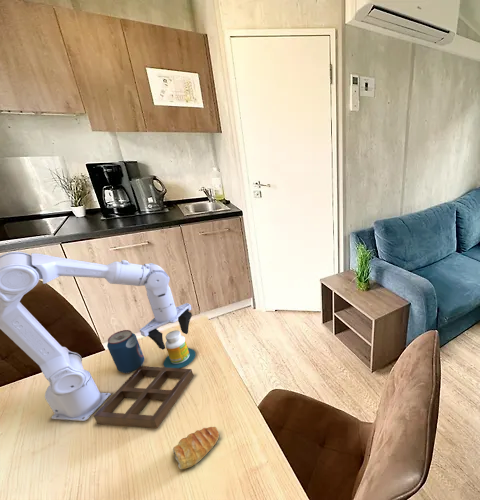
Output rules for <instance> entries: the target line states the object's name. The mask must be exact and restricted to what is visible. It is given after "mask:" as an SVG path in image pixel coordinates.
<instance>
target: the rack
mask: <svg viewBox="0 0 480 500" xmlns="http://www.w3.org/2000/svg"><path fill="white" fill-rule="evenodd" d="M144 377H145V378H154V379H153V380H151V382H150V383H149V385H148V386H147V387H145V388H144V387H137V385H139V383H140V382H141V381H142V379H144ZM168 379H178V381H177V382H176V384H175V385H174V387H173V388H172V389H160V388H161V387H162V386H163V385H164V383H166V381H167V380H168ZM192 379H194V373H193V370H192V368H184V367H183V368H166V367H164V366H147V365H142V366H140V367H139V368H138V369H137V370H136V371H134V372H132V374H131V375H130V376H129V377H128V378H127V379H126V380H125V382H123V384H121V386H119V388H117V390H116V391H115V392H114V393H113V394H111V396H110V397H109V398H108V399H107V400H106V401H105V402H104V403H103V404H102V405H101V406H100V407H99V408H98V409H97V410H96V411H95V412H94V413H93V416H92V417H93V418H94V420H95V423H96V424H97V425H109V426H122V427H137V428H153V429H158V428H159V427H160V426H161V424H162V422H163V421H164V420H165V418H166V417H167V415H168V414H169V412H170V411H171V410H172V408H173V407H174V405H175V403H177V401H178V400H179V398H180V397H181V395H182V394H183V392H184V391H185V390H186V388H187V387H188V385H189V384H190V382H191V381H192ZM125 399H129V400H130V399H131V400H135V401H134V402H133V403H132V404H131V405H130V407H129V408H128V409H127V411H126V412H125V413H123V412H122V413H121V412H114V411H115V410H116V409H117V408H118V407H119V405H120V404H121V403H122V402H123V401H124V400H125ZM150 401H161V402H162V403H161V404H160V405H159V407H158V408H157V410H155V412H154V413H153V414H152V415H151V414H150V415H149V414H141V412H142V411H143V410H144V408H145V407H146V406H147V405H148V403H150Z"/></svg>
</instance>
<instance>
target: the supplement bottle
mask: <svg viewBox="0 0 480 500" xmlns="http://www.w3.org/2000/svg"><path fill="white" fill-rule="evenodd" d="M164 345H165V349H166V352H167V356H169V358H170V361H171V363H173V364H179V363H182V362H184V361H186V360H187V359H188V358H189V351H188V348H189V347H188V345H187V340H186V337H185V336H184V335H182V332H181V330H178V329H175V330H171V331H169V332H167V333H166V335H165V343H164Z"/></svg>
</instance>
